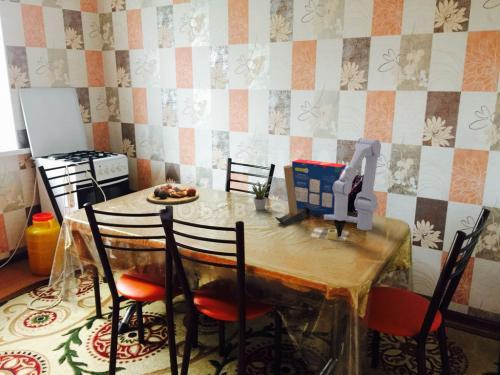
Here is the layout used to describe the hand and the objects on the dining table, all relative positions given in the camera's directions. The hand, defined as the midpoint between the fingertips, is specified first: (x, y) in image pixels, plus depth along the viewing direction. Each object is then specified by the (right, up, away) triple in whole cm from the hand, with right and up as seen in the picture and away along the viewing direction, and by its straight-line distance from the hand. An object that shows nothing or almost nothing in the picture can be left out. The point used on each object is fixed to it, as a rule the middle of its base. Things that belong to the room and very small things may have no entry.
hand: (339, 235), depth 195 cm
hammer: (-18, +4, +28) cm, 33 cm away
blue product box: (-4, +8, +40) cm, 41 cm away
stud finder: (-3, -1, +1) cm, 3 cm away
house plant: (-34, +10, +49) cm, 60 cm away
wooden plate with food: (-88, +15, +74) cm, 116 cm away
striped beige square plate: (-3, 0, +6) cm, 7 cm away
